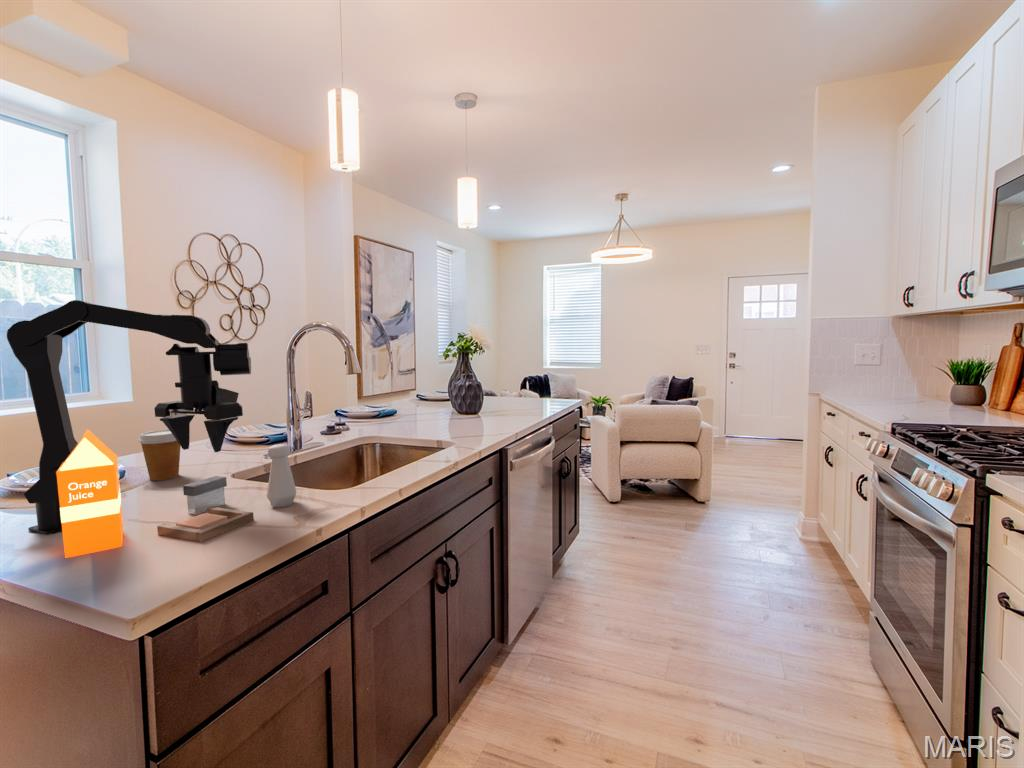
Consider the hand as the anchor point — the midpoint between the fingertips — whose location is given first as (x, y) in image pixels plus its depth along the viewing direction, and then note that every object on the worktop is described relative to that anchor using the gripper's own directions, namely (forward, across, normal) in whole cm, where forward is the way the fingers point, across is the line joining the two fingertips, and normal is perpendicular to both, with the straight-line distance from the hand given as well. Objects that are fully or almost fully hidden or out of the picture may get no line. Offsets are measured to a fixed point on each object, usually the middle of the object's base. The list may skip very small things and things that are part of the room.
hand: (201, 450), depth 106 cm
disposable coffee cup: (+13, +34, -15) cm, 39 cm away
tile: (+13, -9, +8) cm, 18 cm away
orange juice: (+13, +1, +20) cm, 24 cm away
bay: (+12, -10, +8) cm, 18 cm away
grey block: (+13, 0, 0) cm, 13 cm away
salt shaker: (+13, -14, -7) cm, 20 cm away
